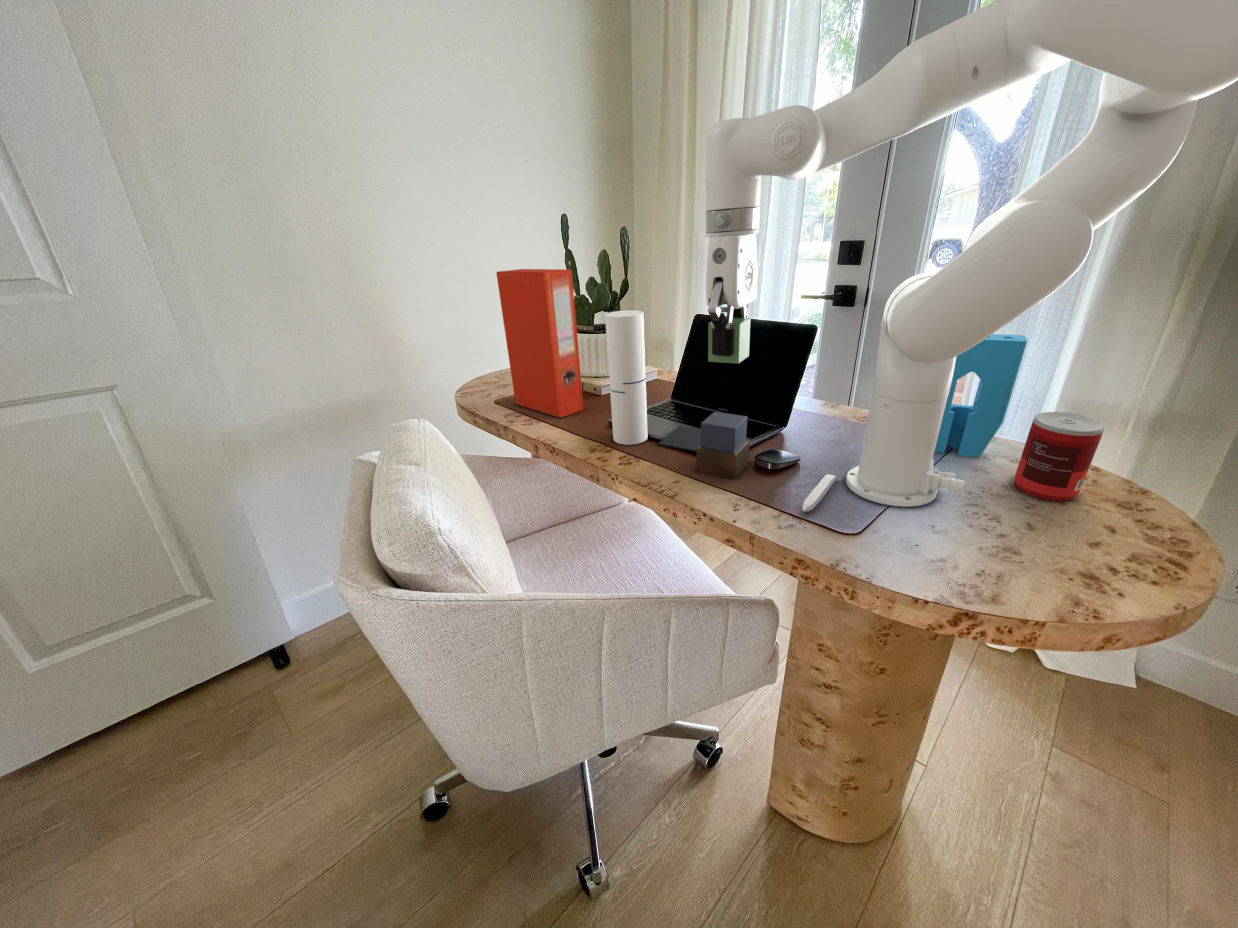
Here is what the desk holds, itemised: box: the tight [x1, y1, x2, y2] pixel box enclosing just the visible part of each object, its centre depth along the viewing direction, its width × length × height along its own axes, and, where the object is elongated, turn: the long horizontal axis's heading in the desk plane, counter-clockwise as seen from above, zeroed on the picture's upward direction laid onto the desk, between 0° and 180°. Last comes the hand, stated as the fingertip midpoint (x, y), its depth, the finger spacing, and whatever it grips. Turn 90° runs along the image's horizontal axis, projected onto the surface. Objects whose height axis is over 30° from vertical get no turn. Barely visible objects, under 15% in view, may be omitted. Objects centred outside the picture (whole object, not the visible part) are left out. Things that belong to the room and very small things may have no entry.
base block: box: [696, 438, 751, 480], centre depth 86 cm, size 7×7×4 cm
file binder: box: [496, 268, 584, 419], centre depth 116 cm, size 8×17×32 cm, turn 47°
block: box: [934, 333, 1029, 458], centre depth 84 cm, size 12×5×20 cm, turn 59°
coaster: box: [657, 425, 701, 453], centre depth 99 cm, size 10×10×1 cm
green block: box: [707, 317, 752, 364], centre depth 77 cm, size 5×5×6 cm
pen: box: [801, 473, 837, 513], centre depth 75 cm, size 2×14×2 cm, turn 142°
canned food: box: [1014, 411, 1105, 502], centre depth 72 cm, size 8×8×11 cm
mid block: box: [700, 411, 748, 453], centre depth 84 cm, size 6×6×4 cm
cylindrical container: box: [604, 309, 649, 446], centre depth 96 cm, size 7×7×25 cm
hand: (729, 349), depth 78 cm, fingers closed on green block, 5 cm apart
